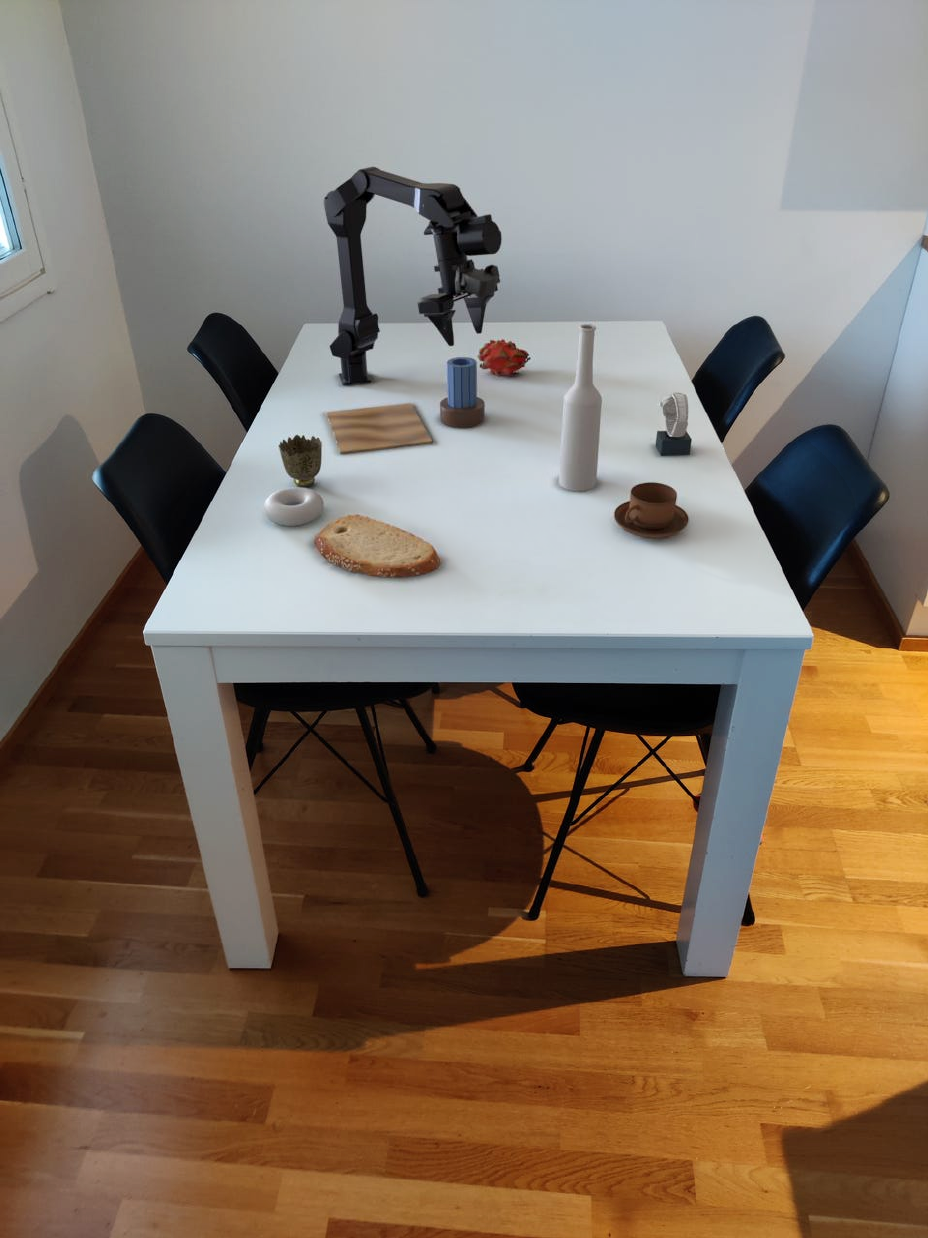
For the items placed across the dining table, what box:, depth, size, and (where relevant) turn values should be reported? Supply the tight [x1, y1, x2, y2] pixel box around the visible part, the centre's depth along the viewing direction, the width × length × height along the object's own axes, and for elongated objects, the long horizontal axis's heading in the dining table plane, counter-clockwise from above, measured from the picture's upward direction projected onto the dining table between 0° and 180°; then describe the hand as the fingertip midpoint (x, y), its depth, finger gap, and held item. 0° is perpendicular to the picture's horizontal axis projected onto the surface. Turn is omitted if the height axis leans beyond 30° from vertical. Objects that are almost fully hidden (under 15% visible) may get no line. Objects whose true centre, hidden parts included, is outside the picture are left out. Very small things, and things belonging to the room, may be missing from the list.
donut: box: [263, 486, 325, 527], centre depth 159 cm, size 10×4×10 cm
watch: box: [655, 392, 693, 457], centre depth 176 cm, size 6×8×11 cm
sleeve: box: [446, 356, 478, 409], centre depth 188 cm, size 6×6×8 cm
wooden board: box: [325, 402, 433, 455], centre depth 189 cm, size 20×18×1 cm
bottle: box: [558, 323, 603, 493], centre depth 160 cm, size 7×7×28 cm
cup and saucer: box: [613, 481, 689, 539], centre depth 153 cm, size 12×12×6 cm
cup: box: [278, 434, 323, 488], centre depth 167 cm, size 8×7×8 cm
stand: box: [439, 396, 486, 429], centre depth 190 cm, size 9×9×8 cm
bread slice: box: [313, 513, 442, 579], centre depth 148 cm, size 18×18×4 cm
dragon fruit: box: [477, 338, 531, 378], centre depth 211 cm, size 8×8×12 cm
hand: (465, 339), depth 187 cm, fingers open, 9 cm apart
